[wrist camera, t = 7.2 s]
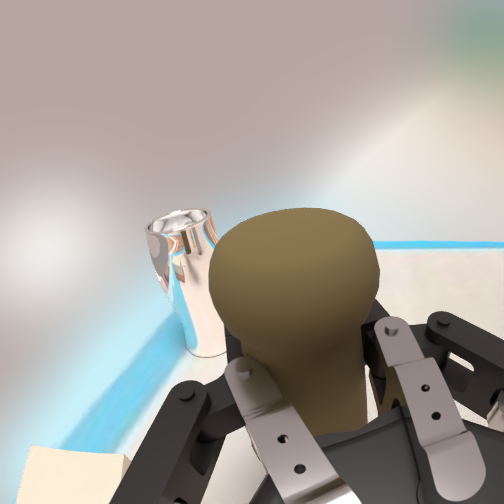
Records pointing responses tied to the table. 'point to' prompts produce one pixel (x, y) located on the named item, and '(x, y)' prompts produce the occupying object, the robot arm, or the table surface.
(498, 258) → the table surface
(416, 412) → the robot arm
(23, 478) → the brick base
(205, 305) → the beer glass
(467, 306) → the table surface
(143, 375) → the table surface
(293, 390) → the cork
